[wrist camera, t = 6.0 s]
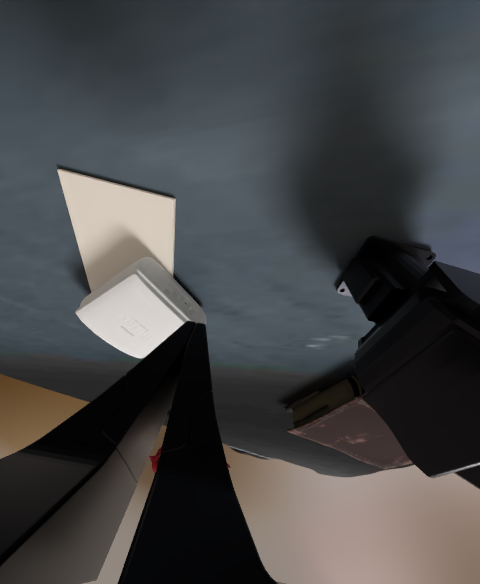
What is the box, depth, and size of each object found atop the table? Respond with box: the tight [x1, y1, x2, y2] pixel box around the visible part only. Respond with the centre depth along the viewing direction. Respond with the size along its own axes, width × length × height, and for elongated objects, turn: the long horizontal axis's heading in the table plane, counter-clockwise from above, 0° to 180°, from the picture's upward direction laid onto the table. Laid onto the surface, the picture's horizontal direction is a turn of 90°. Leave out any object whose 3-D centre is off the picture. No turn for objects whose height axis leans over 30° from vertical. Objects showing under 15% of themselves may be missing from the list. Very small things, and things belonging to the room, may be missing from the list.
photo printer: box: [75, 257, 206, 358], centre depth 24 cm, size 10×4×12 cm
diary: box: [285, 373, 413, 469], centre depth 37 cm, size 19×25×5 cm
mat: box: [58, 169, 176, 293], centre depth 23 cm, size 10×16×1 cm, turn 167°
